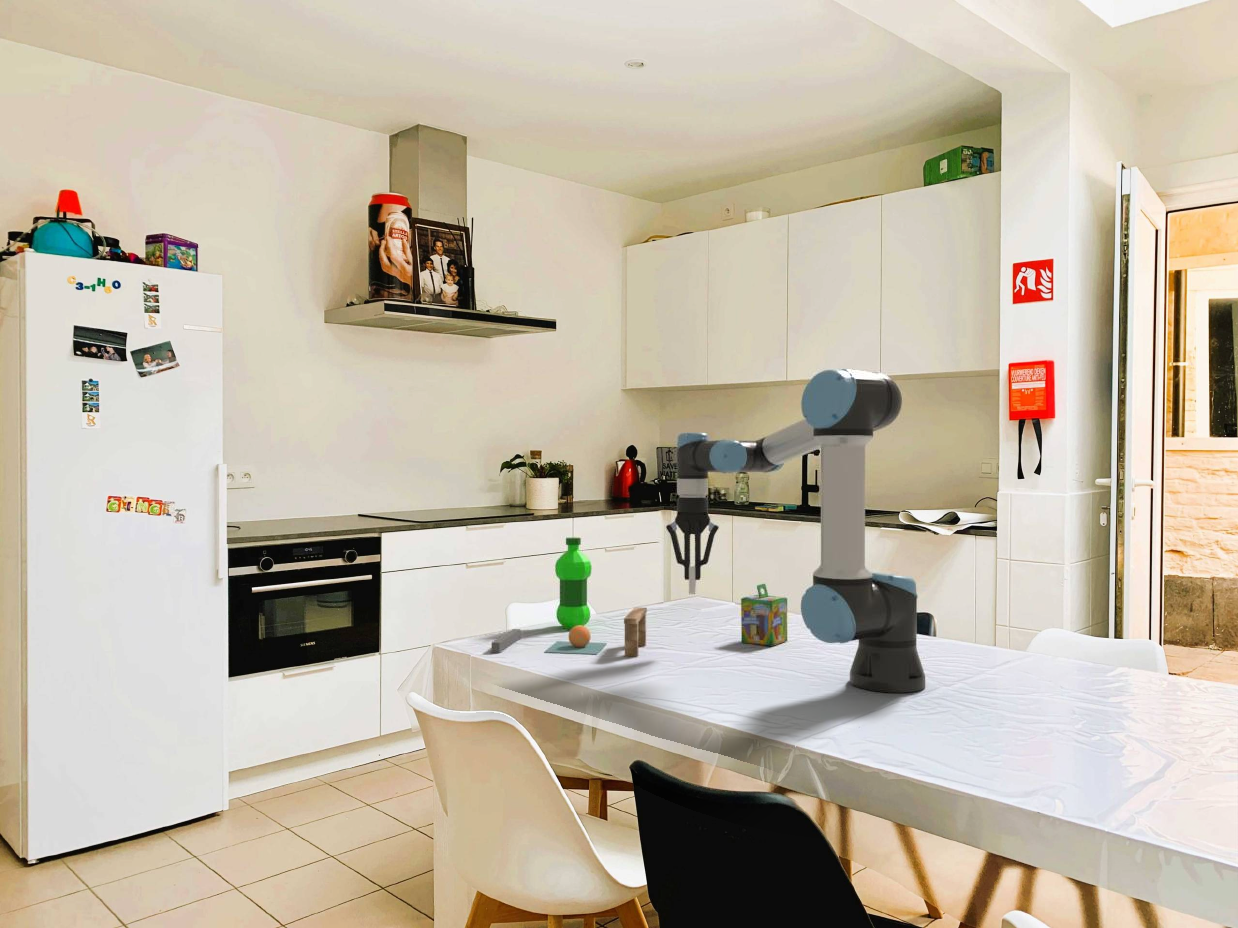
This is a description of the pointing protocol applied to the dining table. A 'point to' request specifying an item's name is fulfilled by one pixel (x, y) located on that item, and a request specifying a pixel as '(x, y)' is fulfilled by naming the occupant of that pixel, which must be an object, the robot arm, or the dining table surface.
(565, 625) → the plastic bottle
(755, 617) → the chalk box
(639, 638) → the bridge
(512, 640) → the grey long bar
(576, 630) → the ball
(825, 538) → the robot arm
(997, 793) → the dining table surface
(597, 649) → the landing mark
